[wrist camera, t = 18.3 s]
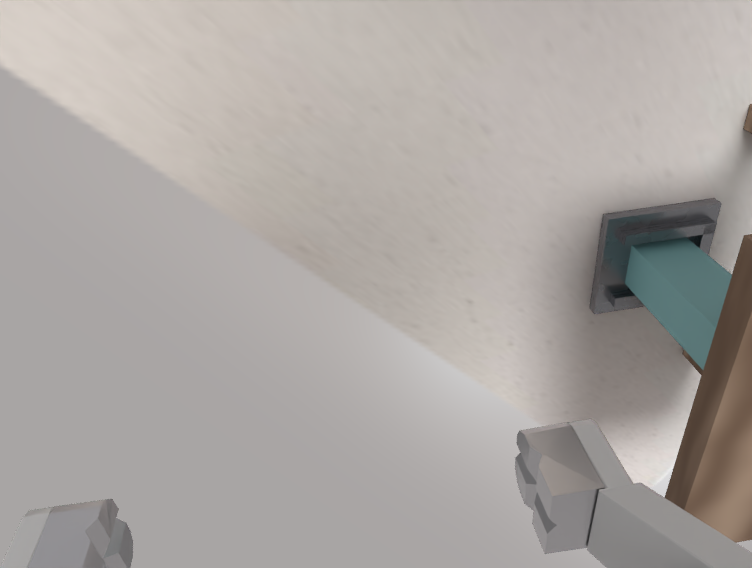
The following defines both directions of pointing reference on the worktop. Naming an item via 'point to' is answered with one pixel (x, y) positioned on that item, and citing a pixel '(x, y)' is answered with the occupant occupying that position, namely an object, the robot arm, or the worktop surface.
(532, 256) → the worktop surface
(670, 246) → the teal box
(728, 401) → the overhang shelf
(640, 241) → the seat cradle
